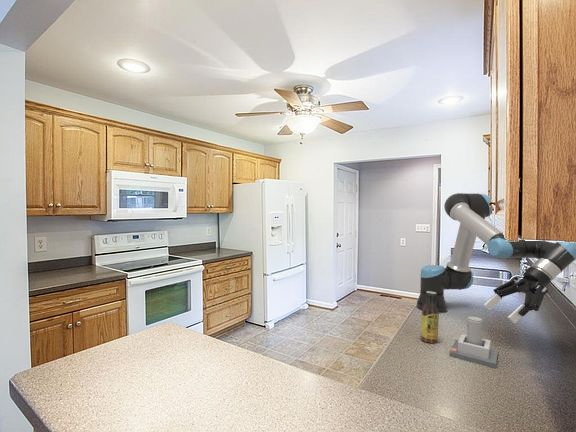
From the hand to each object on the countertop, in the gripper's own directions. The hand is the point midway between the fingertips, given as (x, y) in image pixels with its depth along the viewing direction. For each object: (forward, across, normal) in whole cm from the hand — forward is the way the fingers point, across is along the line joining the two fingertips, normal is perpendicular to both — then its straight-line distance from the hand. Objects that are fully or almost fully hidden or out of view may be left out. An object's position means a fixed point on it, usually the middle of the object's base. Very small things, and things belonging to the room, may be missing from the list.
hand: (498, 313), depth 113 cm
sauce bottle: (+25, +12, +3) cm, 28 cm away
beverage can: (+16, 0, -4) cm, 16 cm away
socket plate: (+17, 0, -5) cm, 18 cm away
